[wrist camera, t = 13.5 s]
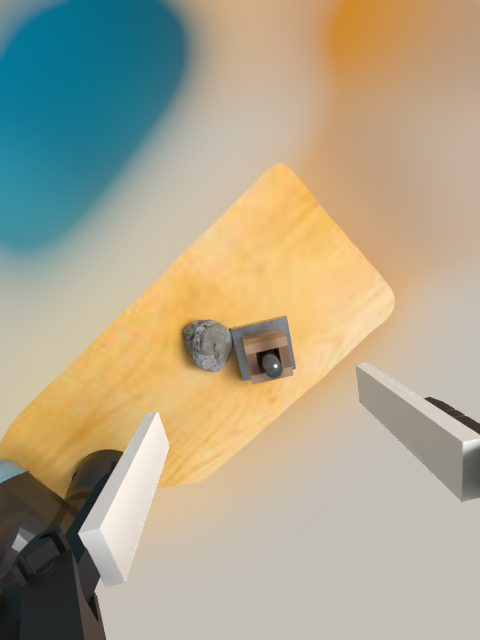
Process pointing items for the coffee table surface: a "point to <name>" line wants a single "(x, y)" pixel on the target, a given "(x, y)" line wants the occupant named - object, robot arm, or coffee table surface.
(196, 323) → the fossilized seashell
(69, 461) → the coffee table surface
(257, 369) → the collar
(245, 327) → the knob on metal plate
